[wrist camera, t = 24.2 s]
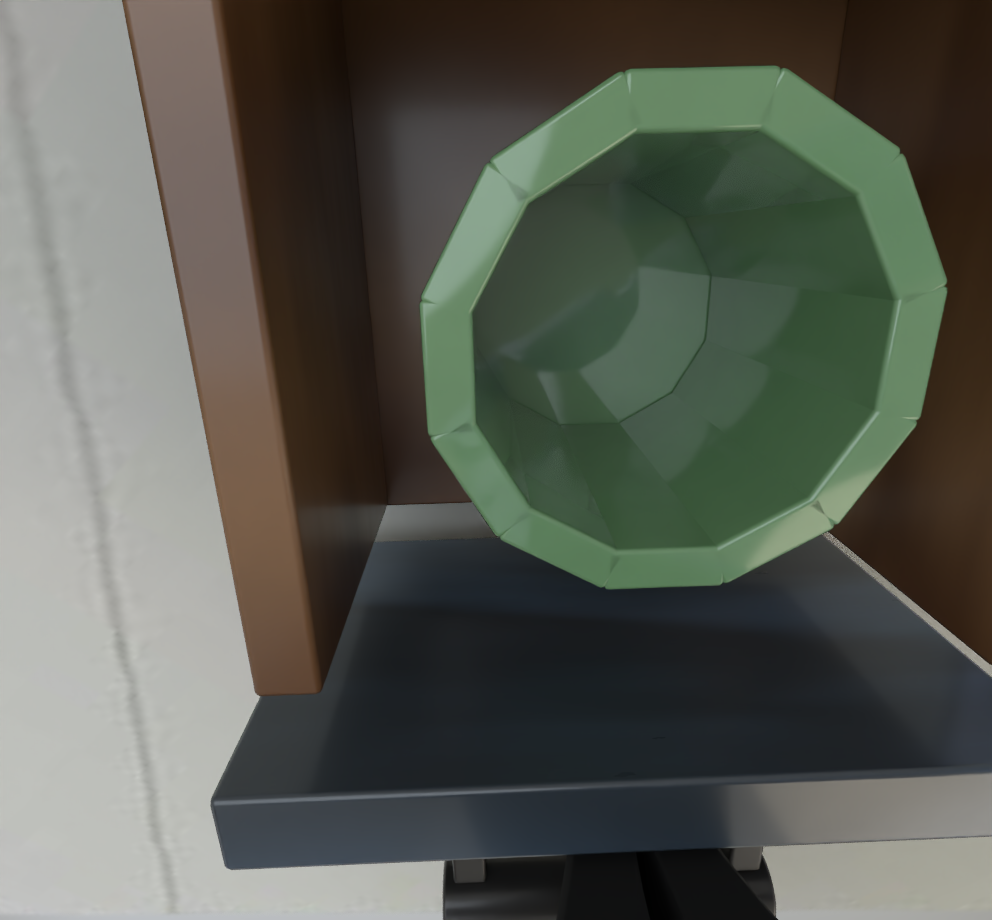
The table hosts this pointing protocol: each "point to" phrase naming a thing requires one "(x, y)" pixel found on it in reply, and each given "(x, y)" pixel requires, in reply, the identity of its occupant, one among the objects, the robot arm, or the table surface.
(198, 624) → the table surface
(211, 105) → the drawer
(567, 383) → the pot
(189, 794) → the table surface
